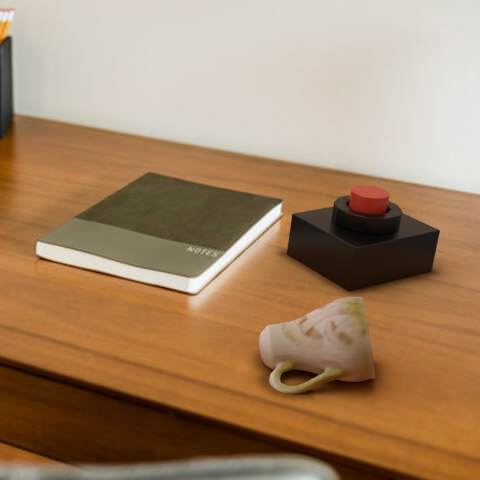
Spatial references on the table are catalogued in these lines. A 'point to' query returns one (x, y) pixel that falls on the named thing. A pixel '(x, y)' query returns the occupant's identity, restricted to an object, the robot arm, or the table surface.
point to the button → (369, 199)
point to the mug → (320, 346)
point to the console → (362, 244)
